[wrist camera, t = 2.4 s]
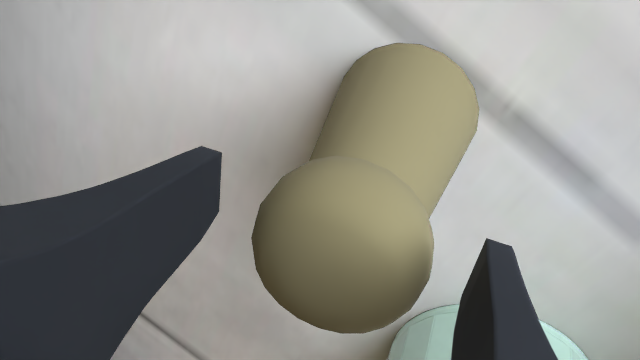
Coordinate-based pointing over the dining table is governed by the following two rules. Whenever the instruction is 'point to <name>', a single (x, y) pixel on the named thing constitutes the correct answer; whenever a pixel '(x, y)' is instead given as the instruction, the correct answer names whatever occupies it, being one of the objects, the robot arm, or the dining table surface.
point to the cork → (368, 192)
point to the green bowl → (437, 337)
